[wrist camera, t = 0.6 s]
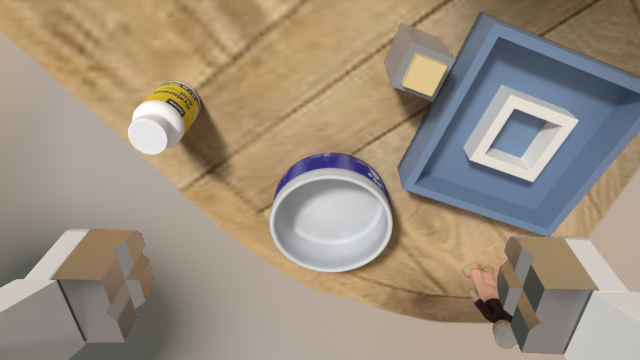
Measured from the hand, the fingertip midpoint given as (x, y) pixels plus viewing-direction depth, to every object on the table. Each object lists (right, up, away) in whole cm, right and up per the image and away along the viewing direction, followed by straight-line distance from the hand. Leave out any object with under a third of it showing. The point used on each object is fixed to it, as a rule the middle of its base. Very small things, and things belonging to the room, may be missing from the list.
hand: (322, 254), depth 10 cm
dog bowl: (+1, -1, +49) cm, 49 cm away
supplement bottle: (-17, +11, +42) cm, 46 cm away
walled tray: (+23, +8, +42) cm, 48 cm away
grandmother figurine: (+24, -12, +54) cm, 60 cm away
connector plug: (+10, +16, +37) cm, 42 cm away
